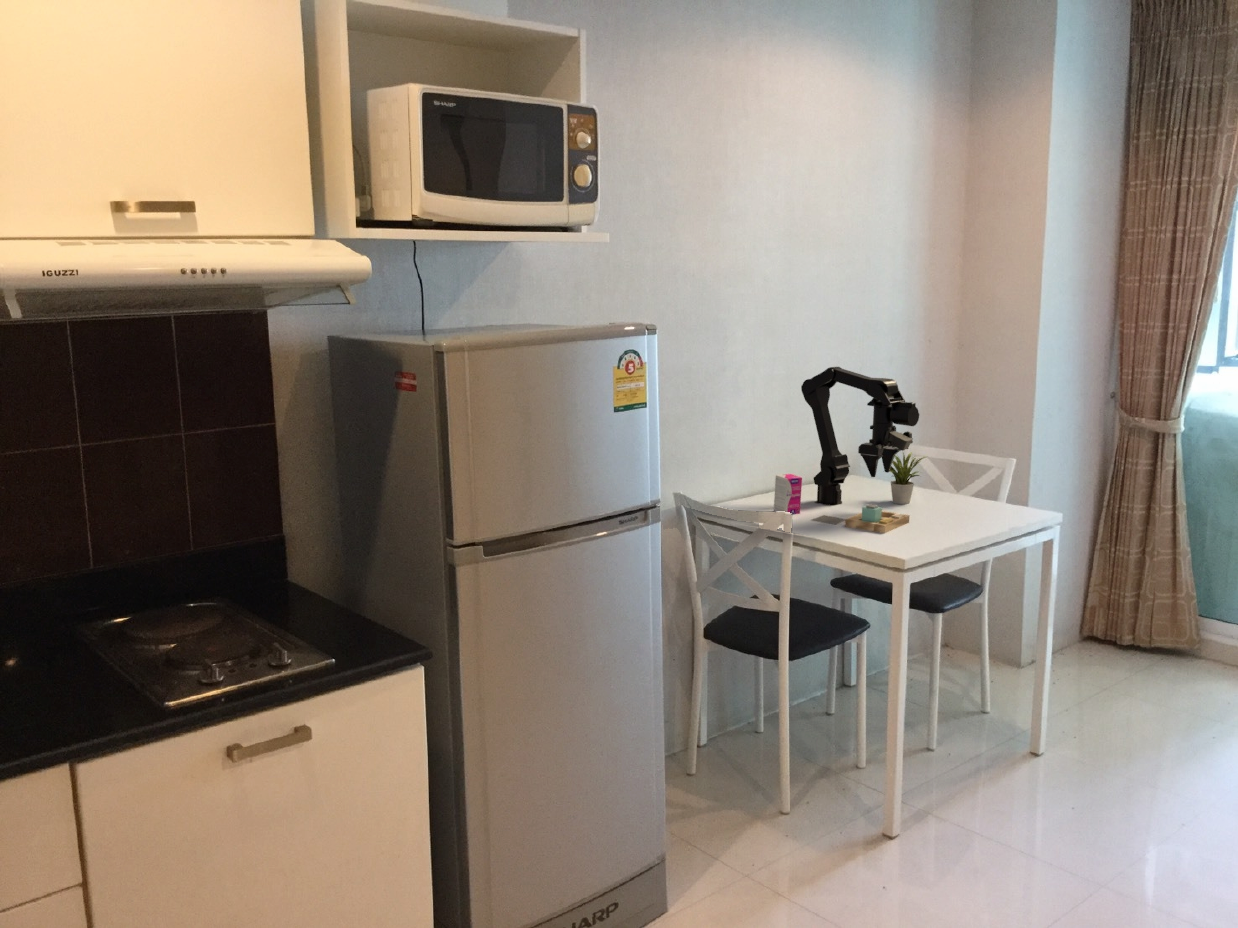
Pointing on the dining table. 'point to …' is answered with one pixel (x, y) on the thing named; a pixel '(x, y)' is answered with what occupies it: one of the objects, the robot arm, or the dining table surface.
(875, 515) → the plug
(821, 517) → the mat
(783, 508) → the supplement box
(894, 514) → the socket block
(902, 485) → the house plant
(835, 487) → the robot arm
